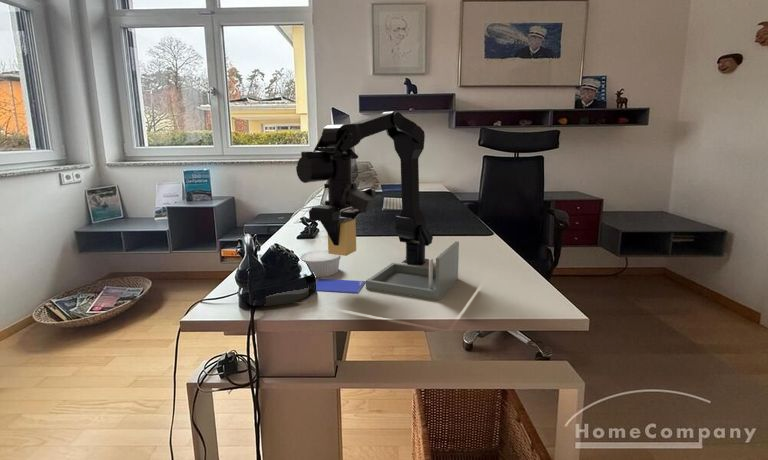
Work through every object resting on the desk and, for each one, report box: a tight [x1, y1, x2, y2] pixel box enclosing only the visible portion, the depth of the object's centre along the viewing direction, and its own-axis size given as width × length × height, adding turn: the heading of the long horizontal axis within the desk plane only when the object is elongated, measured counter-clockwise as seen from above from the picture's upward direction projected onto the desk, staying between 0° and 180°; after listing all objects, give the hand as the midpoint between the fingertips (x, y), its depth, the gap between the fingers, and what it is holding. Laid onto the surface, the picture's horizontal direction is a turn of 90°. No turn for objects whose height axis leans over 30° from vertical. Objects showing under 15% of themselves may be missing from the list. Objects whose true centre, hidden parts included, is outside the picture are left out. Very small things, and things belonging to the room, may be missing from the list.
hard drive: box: [314, 278, 366, 295], centre depth 107 cm, size 2×8×12 cm
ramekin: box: [299, 249, 342, 279], centre depth 118 cm, size 11×11×5 cm
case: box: [365, 240, 460, 301], centre depth 107 cm, size 16×19×11 cm
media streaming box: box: [263, 286, 310, 307], centre depth 104 cm, size 15×15×3 cm
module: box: [327, 217, 357, 257], centre depth 103 cm, size 5×5×8 cm
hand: (342, 242), depth 104 cm, fingers closed on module, 5 cm apart
